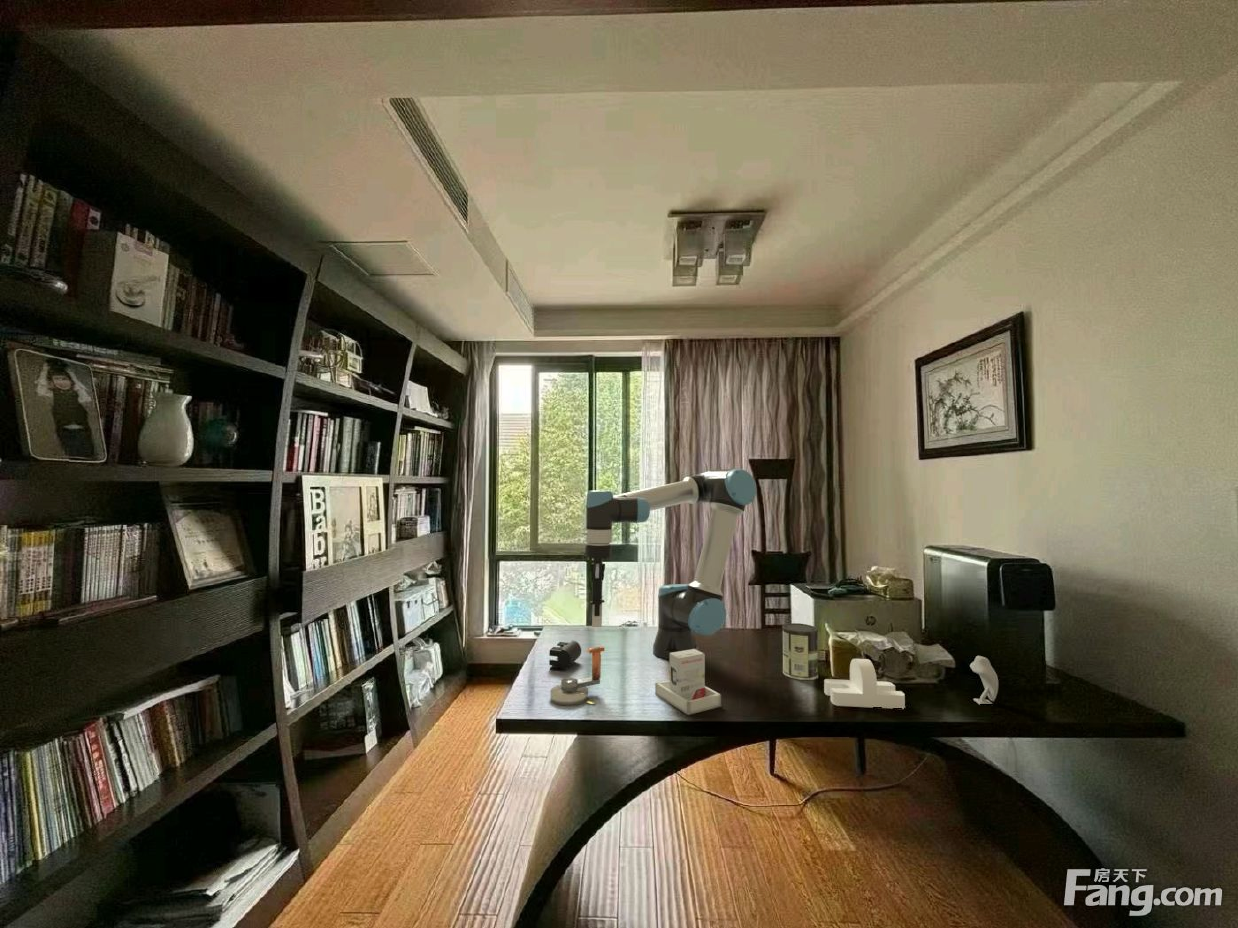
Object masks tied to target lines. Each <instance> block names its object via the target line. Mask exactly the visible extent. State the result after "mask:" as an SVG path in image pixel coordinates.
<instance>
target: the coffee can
mask: <svg viewBox="0 0 1238 928" xmlns="http://www.w3.org/2000/svg"><path fill="white" fill-rule="evenodd" d="M781 628H782V629H781V630H782V673H783V675H784V676H785V677H788V678H791V679H793V680H798V681H799V680H800V681H813V680H817V679H819V667H818V666H819V665H818V664H819V663H818V661H819V660H818V659H819V658H818V657H819V656H818V654H819V653H818V651H819V649H818V632H819V629H818V628H817V627H816V626H814V625H811V624H805V623H800V622H799V623H798V622H797V623H795V622H793V623H789V622H788V623H784V624H783V625H782V626H781Z"/></svg>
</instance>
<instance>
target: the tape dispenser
mask: <svg viewBox="0 0 1238 928" xmlns="http://www.w3.org/2000/svg"><path fill="white" fill-rule="evenodd" d="M823 683H824V684H823V687H824V688H823V692H824V694H825V695H826V696H829V697H830V702H831V703H832V704H833V705H834V706H838V707H856V708H858V707H859V708H873V707H882V708H881V709H893V708H902V709H901V710H904V708H905V709H906V705H905V704H906V699H905V698H906V696H905V693H904V692H903V691H902V690H896V685H895V684H893V682H890V681H882V680H881V681H880V680H879V681H878V679H877V673H876V671H875V666H874V665H873V662H872V661H871V660H870V659H868V658H852V659H851V660H850V664H849V679H837V678H836V679H835V678H833V679H832V678H825V679H824V680H823Z"/></svg>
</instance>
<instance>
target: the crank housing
mask: <svg viewBox="0 0 1238 928" xmlns="http://www.w3.org/2000/svg"><path fill="white" fill-rule="evenodd" d="M549 694H550V698H549V699H550V702H551V703H552V704H555V705H557V706H563V707H574V706H579V705H582V704H584V703H585V704H588V705H591V706H595V705H596V703H595V702H592V701H590V700H588V699H589V689H588V686H586V687H581V688H578V689H577V690H576V691H573V692H565V691H562V690H561V683H560V684H557V685H555V686H553V687H552V688H551V689H550V693H549Z"/></svg>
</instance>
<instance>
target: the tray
mask: <svg viewBox="0 0 1238 928" xmlns="http://www.w3.org/2000/svg"><path fill="white" fill-rule="evenodd" d="M654 684H655V687H654V689H655V691H654V692H655V693H654V694H655V695H656V696H657V697H659V698H661V699H662V700H664V701H665V702H666V703H668V704H671V705H672V706H673V707H675V708H676V709H678V710H679V711H681V712H682V713H684V714H686V715H687V716H690V715H693V714H696V713H701V712H706V711H708V710H713V709H717V708H721V707H722V694H721V693H719V692H717V691H715V690H713V689H711V688H710V687H708V686H706V685H705V697H703V698H699V699H695V700H690V701H688V700H686V699H685V698H683V697H681V696H680V695H678V694H676V693H675V692H673V691H671V690H670V689H669V679H668V680H667V679H666V680H663V681H659V682H655V683H654Z"/></svg>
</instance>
